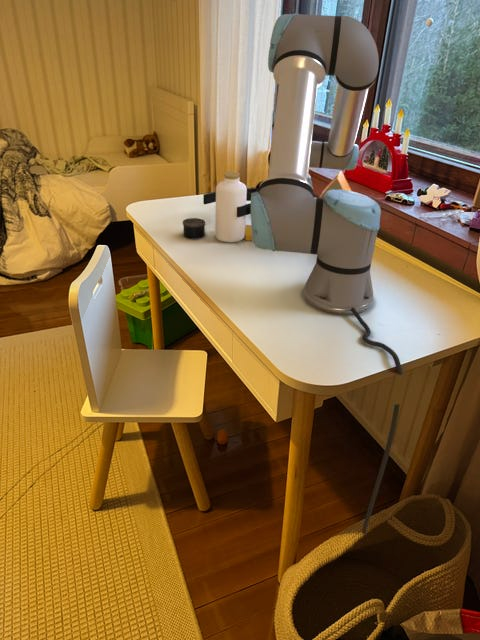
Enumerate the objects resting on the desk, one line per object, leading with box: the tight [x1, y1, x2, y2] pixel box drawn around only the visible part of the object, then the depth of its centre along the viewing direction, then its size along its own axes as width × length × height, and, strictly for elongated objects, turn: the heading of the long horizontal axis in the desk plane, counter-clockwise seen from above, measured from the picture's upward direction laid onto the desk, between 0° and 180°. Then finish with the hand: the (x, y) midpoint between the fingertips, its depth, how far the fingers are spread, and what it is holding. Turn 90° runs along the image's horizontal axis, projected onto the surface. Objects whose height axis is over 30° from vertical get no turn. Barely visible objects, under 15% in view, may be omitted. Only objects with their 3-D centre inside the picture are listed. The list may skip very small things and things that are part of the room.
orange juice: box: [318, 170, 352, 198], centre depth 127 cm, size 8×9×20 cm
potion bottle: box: [214, 171, 248, 243], centre depth 131 cm, size 8×8×18 cm
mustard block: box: [244, 224, 253, 241], centre depth 138 cm, size 8×6×2 cm
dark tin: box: [182, 217, 206, 240], centre depth 135 cm, size 6×6×4 cm
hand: (220, 205), depth 131 cm, fingers open, 13 cm apart
